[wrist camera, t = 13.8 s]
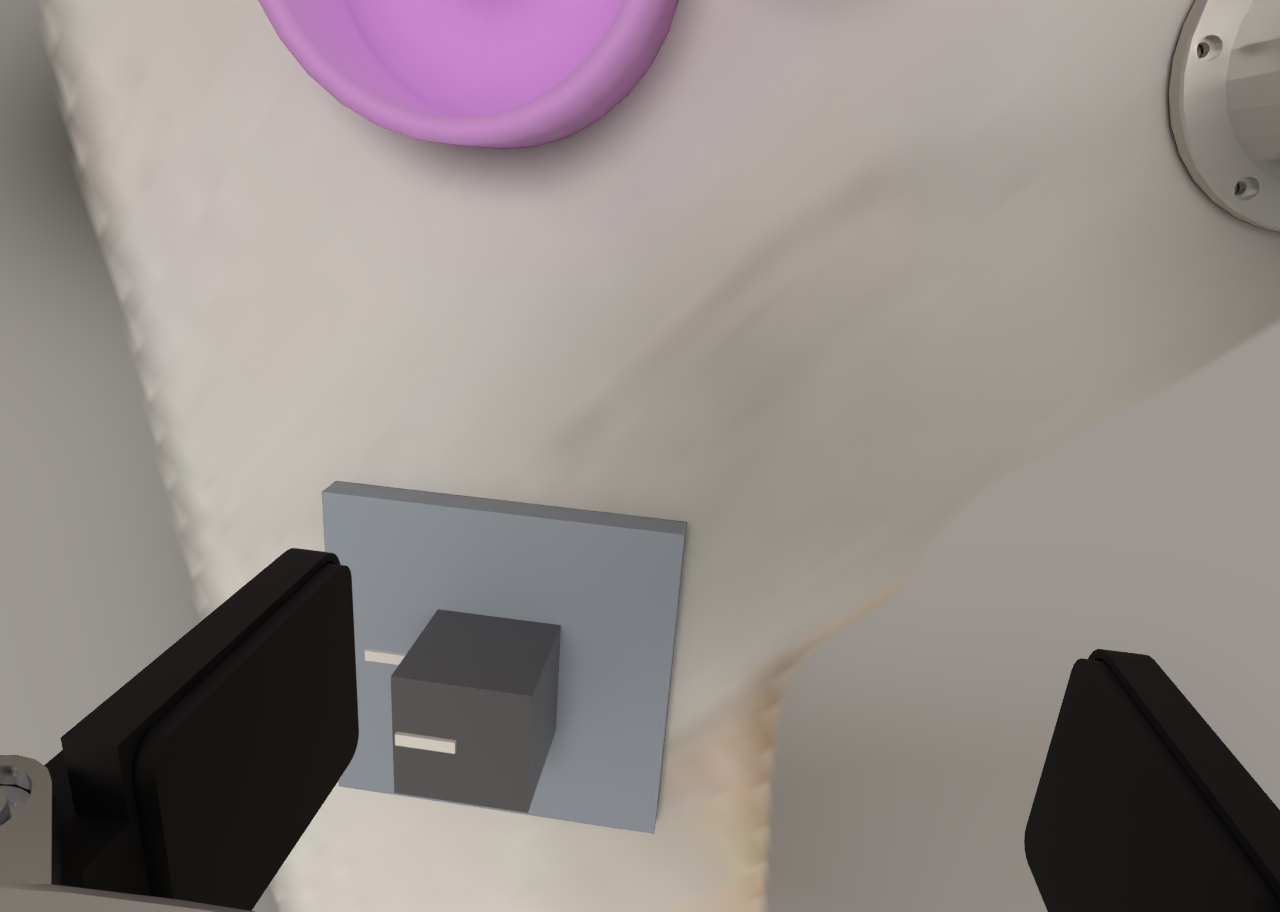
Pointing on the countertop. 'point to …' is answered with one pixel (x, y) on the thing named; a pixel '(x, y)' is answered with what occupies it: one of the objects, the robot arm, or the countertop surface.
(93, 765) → the robot arm
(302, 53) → the container set
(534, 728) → the dark gray cube
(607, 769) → the hub panel
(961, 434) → the countertop surface
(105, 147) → the countertop surface
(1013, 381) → the countertop surface
